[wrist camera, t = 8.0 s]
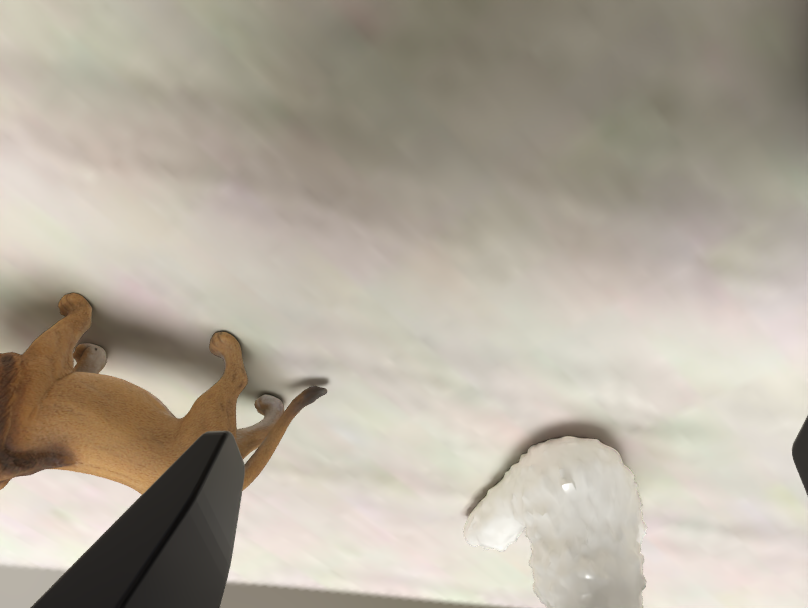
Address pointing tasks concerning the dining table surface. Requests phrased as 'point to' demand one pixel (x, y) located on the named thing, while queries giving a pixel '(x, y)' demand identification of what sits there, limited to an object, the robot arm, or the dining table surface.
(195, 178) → the dining table surface
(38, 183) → the dining table surface
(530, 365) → the dining table surface
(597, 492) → the white creature statuette
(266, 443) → the lion figurine
